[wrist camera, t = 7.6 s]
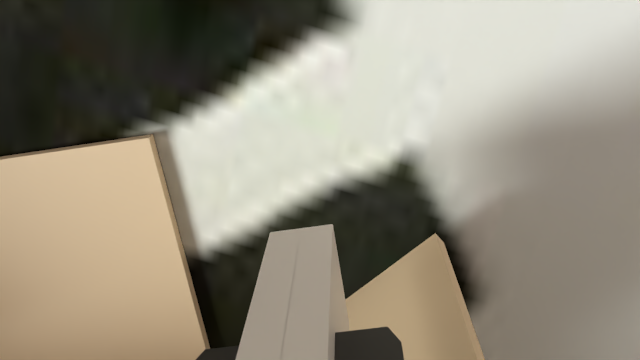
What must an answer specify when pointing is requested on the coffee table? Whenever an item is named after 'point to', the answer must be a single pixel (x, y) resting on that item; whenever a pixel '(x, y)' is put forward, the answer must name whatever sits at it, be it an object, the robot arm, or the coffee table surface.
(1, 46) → the coffee table surface
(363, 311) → the flap
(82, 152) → the carton
